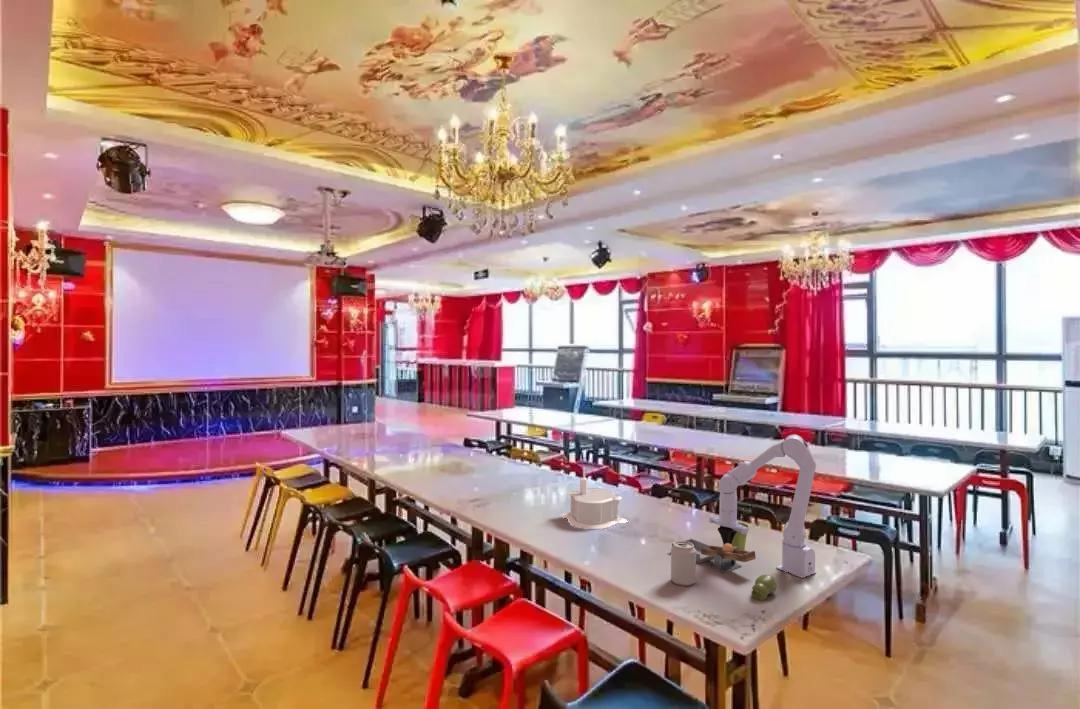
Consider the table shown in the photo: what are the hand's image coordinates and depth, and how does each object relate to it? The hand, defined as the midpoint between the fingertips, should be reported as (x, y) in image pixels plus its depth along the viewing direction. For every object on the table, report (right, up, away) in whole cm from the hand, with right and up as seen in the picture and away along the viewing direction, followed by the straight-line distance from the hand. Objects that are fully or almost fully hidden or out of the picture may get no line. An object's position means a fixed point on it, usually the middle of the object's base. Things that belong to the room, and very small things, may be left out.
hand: (727, 548), depth 193 cm
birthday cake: (-42, -3, +44) cm, 61 cm away
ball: (-2, +3, -8) cm, 9 cm away
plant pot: (+6, -4, +10) cm, 12 cm away
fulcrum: (-3, -4, -7) cm, 8 cm away
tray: (-10, -3, +4) cm, 11 cm away
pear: (+1, -4, -28) cm, 28 cm away
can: (-20, -4, -19) cm, 28 cm away
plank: (+1, 0, -6) cm, 6 cm away
